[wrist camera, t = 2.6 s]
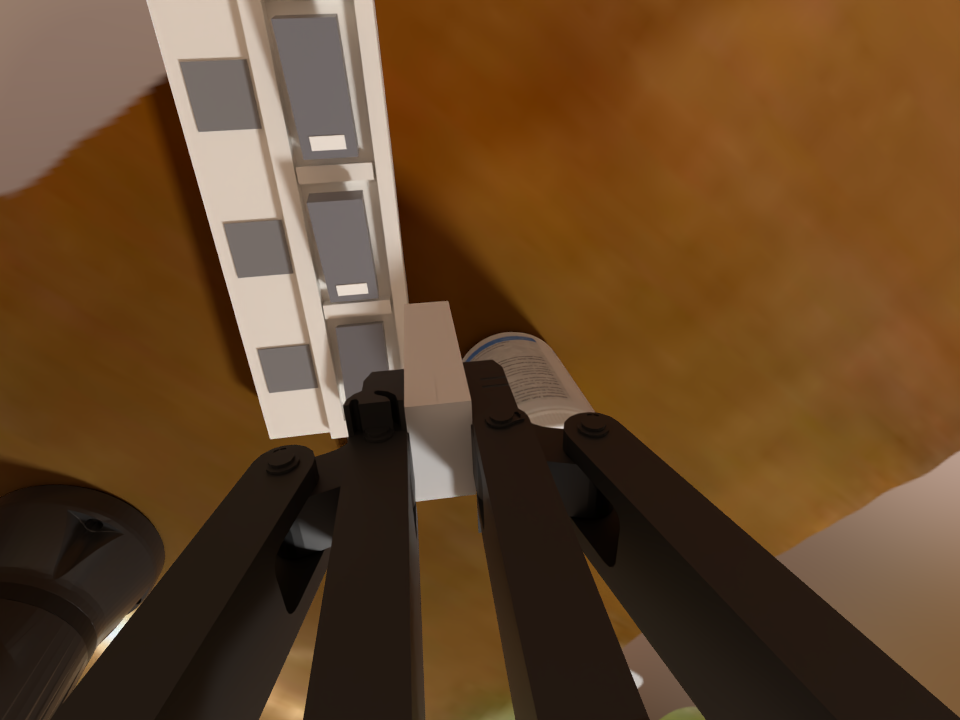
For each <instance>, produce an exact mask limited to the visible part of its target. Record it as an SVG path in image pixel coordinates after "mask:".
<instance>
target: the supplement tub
mask: <svg viewBox="0 0 960 720" xmlns="http://www.w3.org/2000/svg"><path fill="white" fill-rule="evenodd" d="M482 360H494V361H495V362H497V363H498V364H499V365H501V366H502V367H503V369H504V372H505V375H506V378H507V380H508V383H509V385H510V388H511V391H512V393H513V396H514V398H515V401H516V404H517V406H518V408H519V409H520V410H522V411H524V412H525V413H526V414H527V415H528V417H529V419H530V421H531V423H533V424H536V425H539V426H543V427H550V428H560V429H564V422H565V421H566V420H567V419H568V418H569V417H570V416H573V415H575V414H577V413H585V412H593V413H594V412H595V411H594V410H593V408H592V407H591V405H590V404H589V402H588V401H587V399H586V398H585V396H584V395H583V394H582V392H581V391H580V389H579V388H578V386H577V385H576V383H575V382H574V380H573V379H572V377H571V376H570V374H569V373H568V371H567V370H566V368H565V367H564V365H563V364H562V363H561V361H560V360H559V358H558V357H557V355H556V354H555V353H554V351H553V350H552V349H551V347H550V346H549V345H548V344H546V343H545V342H544V341H542V340H541V339H539V338H537V337H535V336H533V335H530V334H526V333H519V332H505V333H499V334H495V335H492V336H490V337H487V338H485V339H484V340H482V341H480V342H479V343H477V344H476V345H475V346H474V347H472V348H471V349H470V350H469V351H468V353H467V354H466V355H465V357H464V358H463V360H462V362H471V361H482Z"/></svg>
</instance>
